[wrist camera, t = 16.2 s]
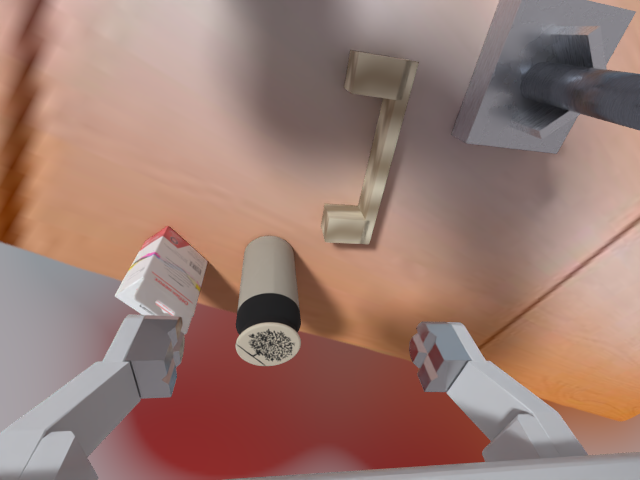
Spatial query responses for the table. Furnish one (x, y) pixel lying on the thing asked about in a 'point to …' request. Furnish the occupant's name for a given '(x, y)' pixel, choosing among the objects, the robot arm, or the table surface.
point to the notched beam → (394, 87)
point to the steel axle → (586, 91)
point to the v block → (520, 55)
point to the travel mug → (268, 303)
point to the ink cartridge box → (164, 278)
